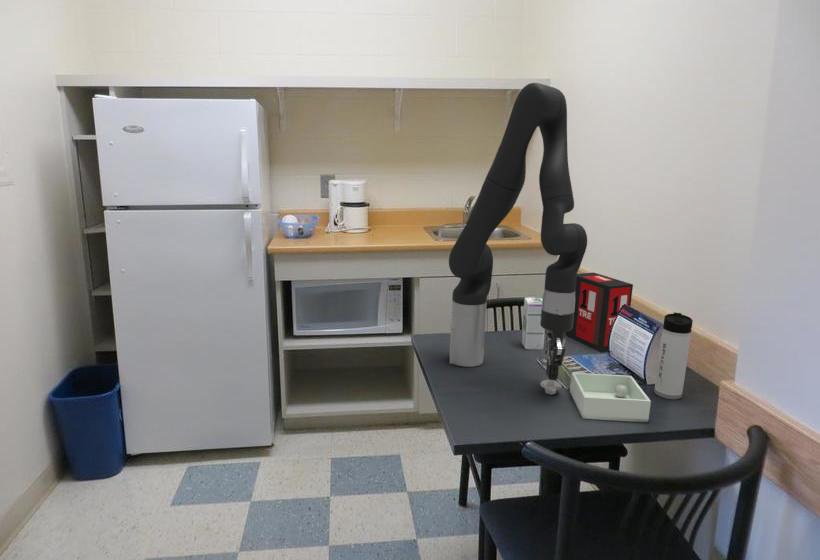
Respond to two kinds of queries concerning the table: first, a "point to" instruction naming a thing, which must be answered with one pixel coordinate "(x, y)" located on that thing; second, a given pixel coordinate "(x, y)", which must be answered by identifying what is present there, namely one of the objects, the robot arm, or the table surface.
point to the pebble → (621, 391)
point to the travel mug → (673, 356)
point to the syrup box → (532, 324)
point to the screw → (550, 386)
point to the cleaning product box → (597, 308)
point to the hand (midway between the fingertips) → (551, 376)
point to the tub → (609, 397)
